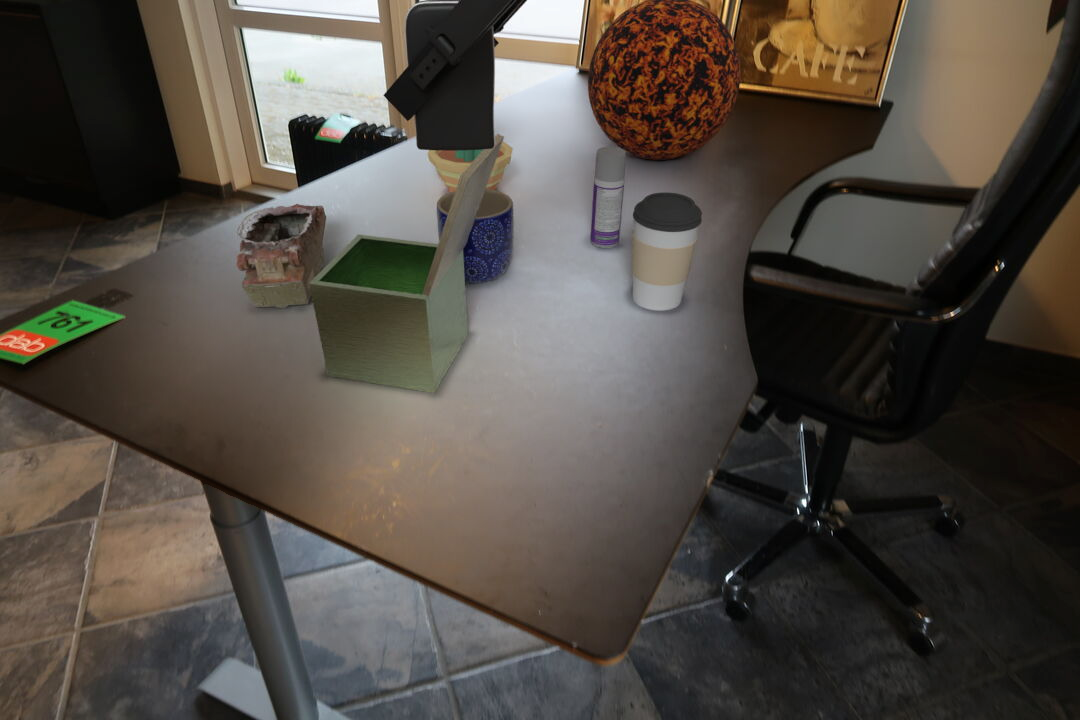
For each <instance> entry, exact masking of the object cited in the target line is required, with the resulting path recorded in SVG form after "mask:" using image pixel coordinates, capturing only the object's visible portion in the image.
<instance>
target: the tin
mask: <svg viewBox="0 0 1080 720" xmlns="http://www.w3.org/2000/svg"><path fill="white" fill-rule="evenodd" d="M438 244H439V243H434V242H423V241H415V240H409V239H408V240H407V239H400V238H399V239H398V238H392V237H391V238H390V237H382V236H373V235H366V234H365V235H364V234H357V235H356V236H355V237H354V238H353V239H352V240H351V241H350V242H349V243H347V245H345V247H344V248H343V249H342V250H341V251H340V252H339V253H338V254H337V255H336V256H335V257H334V258H333V259H331V261H330V262H329V263H328V264H327V265H326V266H325V267H323V269H321V271H320V273H319V274H318V275H317V276H316V277H315V278H314V279H313V280H312V281H311V282H310V283H309V286H310V291H311V296H310V297H311V300H312V304H313V309H314V315H315V319H316V324H317V329H318V335H319V339H320V340H319V341H320V344H321V349H322V354H323V359H324V364H325V369H326V374H327V376H328V377H332V378H337V379H342V380H343V379H344V380H351V381H356V382H363V383H370V384H374V385H375V384H376V385H381V386H388V387H395V388H401V389H407V390H414V391H420V392H424V393H425V392H426V393H432V394H435V393H436V391H437V390H438V388H439V386H440V385H441V383H442V381H443V379H444V378H445V376H446V374H447V372H448V370H449V369H450V367H451V365H452V364H453V362H454V360H455V358H456V357H457V355H458V353H459V351H460V349H461V348H462V347H463V344H464V342H465V341H466V339H467V337H468V335H469V334H468V314H467V297H466V282H465V277H464V259H463V249H462V251H461V252H460V254H459V255H458V256H457V258H456V259H455V261H454V262H453V264H452V265H451V266H450V268H449V269H448V271H447V272H446V273H445V275H444V276H443V278H442V279H441V280H440V282H439V283H438V285H437V286H436V288H435V289H434V290H433V292H432V293H431V295H430V296H426V295H424V294H422V293H423V290H424V287H425V284H426V281H427V278H428V274H429V271H430V268H431V265H432V262H433V259H434V256H435V253H436V250H437V247H438Z"/></svg>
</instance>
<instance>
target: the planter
mask: <svg viewBox="0 0 1080 720" xmlns="http://www.w3.org/2000/svg"><path fill="white" fill-rule="evenodd" d="M454 195H455V191H453V192H450V193H448V192H447V193H446V194H444V195H442V196H441V197H440V198H439V199H438V200H436V225H437V233H438V234H437V235H438V242H439V241H440V238H441V235H442V231H443V228H444V225H445V222H446V219H447V216H448V213H449V210H450V207H451V204H452V201H453V198H454ZM514 230H515V229H514V202H513V199H512V198H511V197H510V196H509V195H507V194H506V193H504V192H502V191H499V190H497V189H496V190H491V189H485V192H484V195H483V198H482V201H481V203H480V206H479V209H478V212H477V215H476V218H475V220H474V223H473V226H472V229H471V232H470V234H469V237H468V240H467V243H466V245H465V247H464V248H463V259H464V277H465V283H472V284H479V283H487V282H491V281H494V280H496V279H498V278H499V277H501V276H502V275H503V274H504V273H505V272H506V271H507V270H508V268H509V266H510V265H511V262H512V258H513V252H514V251H513V250H514Z"/></svg>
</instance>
